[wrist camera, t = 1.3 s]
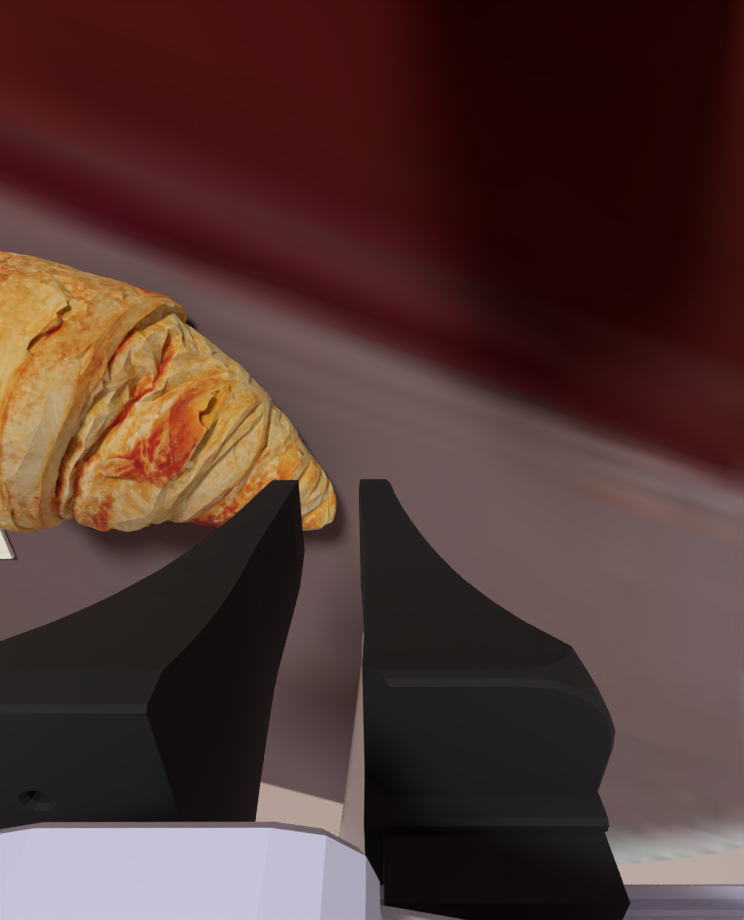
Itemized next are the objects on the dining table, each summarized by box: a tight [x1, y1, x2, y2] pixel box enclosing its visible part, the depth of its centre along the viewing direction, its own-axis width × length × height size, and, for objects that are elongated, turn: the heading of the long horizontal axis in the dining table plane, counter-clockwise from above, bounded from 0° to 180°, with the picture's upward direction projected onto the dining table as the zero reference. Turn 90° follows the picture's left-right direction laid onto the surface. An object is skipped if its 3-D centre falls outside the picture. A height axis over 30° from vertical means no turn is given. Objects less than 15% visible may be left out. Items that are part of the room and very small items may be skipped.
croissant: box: [0, 251, 336, 533], centre depth 17 cm, size 21×10×8 cm, turn 63°
